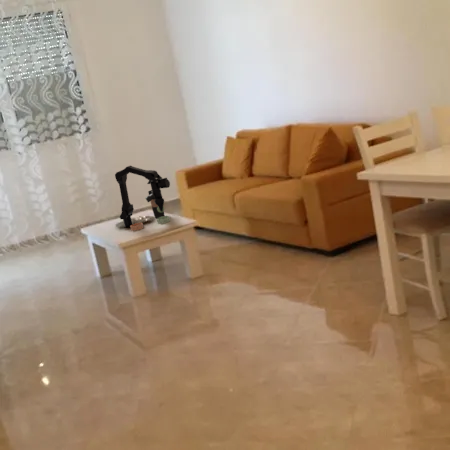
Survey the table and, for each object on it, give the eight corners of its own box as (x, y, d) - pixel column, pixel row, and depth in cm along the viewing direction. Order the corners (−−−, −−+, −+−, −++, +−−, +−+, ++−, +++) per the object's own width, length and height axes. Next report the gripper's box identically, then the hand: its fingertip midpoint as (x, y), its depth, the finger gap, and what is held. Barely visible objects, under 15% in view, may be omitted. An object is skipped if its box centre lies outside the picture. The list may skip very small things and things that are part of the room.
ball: (156, 213, 483) (155, 206, 482) (163, 210, 486) (161, 204, 484) (160, 213, 479) (158, 206, 478) (166, 211, 481) (164, 204, 480)
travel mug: (154, 217, 505) (148, 190, 501) (164, 214, 506) (158, 188, 501) (154, 219, 498) (148, 192, 493) (165, 217, 498) (158, 190, 494)
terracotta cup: (129, 229, 483) (128, 225, 482) (139, 226, 487) (138, 222, 486) (134, 231, 476) (133, 226, 475) (145, 227, 480) (144, 223, 479)
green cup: (156, 223, 485) (155, 219, 485) (166, 219, 489) (165, 215, 489) (161, 224, 478) (160, 219, 478) (171, 220, 483) (170, 216, 482)
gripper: (143, 189, 486) (148, 211, 490) (145, 194, 468) (151, 216, 472) (159, 186, 488) (164, 207, 491) (161, 190, 470) (167, 212, 474)
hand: (161, 210), depth 482 cm, fingers closed on ball, 5 cm apart
